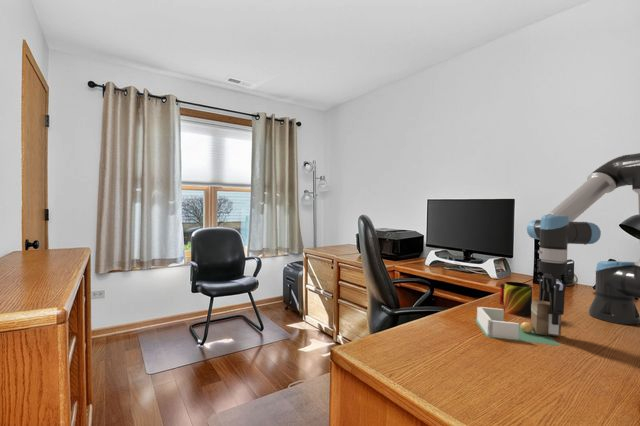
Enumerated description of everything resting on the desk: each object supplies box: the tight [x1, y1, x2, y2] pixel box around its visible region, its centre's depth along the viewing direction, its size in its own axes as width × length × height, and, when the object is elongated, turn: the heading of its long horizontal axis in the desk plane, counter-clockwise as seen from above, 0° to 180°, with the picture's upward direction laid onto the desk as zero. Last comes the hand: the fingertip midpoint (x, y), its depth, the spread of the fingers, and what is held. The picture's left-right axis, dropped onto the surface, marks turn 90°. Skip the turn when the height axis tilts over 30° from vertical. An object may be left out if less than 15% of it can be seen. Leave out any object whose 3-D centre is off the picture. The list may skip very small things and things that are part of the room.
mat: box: [474, 318, 562, 347], centre depth 109 cm, size 21×18×1 cm
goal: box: [476, 306, 520, 341], centre depth 110 cm, size 9×16×5 cm, turn 165°
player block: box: [530, 299, 562, 337], centre depth 106 cm, size 7×5×10 cm, turn 76°
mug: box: [499, 281, 533, 317], centre depth 132 cm, size 10×14×12 cm
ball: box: [520, 321, 533, 333], centre depth 108 cm, size 4×4×4 cm
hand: (549, 330), depth 106 cm, fingers closed on player block, 5 cm apart
